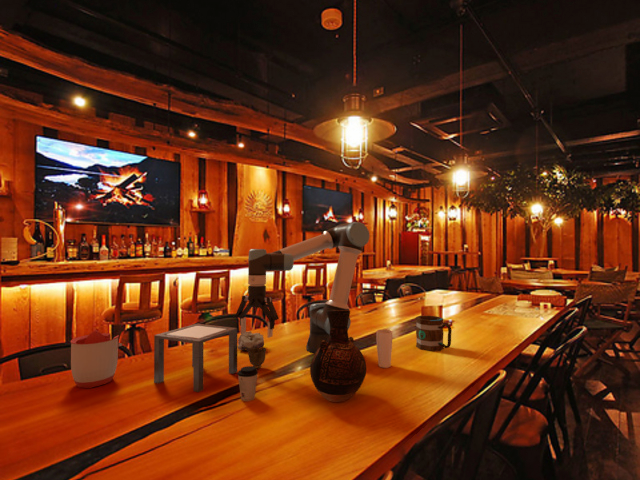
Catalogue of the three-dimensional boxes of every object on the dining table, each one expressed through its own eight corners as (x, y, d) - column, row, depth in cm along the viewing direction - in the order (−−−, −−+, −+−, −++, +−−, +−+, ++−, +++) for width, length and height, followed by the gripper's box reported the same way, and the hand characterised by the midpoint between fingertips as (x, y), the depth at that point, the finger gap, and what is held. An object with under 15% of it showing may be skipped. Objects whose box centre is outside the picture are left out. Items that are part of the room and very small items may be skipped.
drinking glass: (394, 364, 152) (393, 330, 152) (390, 369, 145) (390, 333, 146) (378, 362, 154) (378, 328, 155) (374, 367, 148) (374, 332, 149)
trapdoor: (197, 341, 127) (197, 338, 127) (165, 337, 134) (165, 334, 134) (226, 331, 142) (226, 328, 143) (196, 328, 149) (196, 325, 149)
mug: (410, 346, 180) (410, 317, 180) (428, 342, 187) (428, 314, 187) (441, 356, 163) (441, 324, 163) (460, 351, 170) (459, 321, 170)
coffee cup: (240, 404, 114) (240, 373, 114) (235, 396, 120) (235, 367, 120) (260, 400, 117) (260, 370, 117) (254, 392, 123) (254, 364, 123)
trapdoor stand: (237, 371, 144) (237, 328, 144) (198, 392, 124) (198, 341, 124) (196, 364, 153) (196, 323, 153) (154, 382, 133) (154, 335, 133)
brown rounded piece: (269, 366, 150) (269, 347, 150) (260, 372, 143) (260, 352, 143) (253, 364, 153) (253, 346, 153) (244, 370, 146) (244, 350, 146)
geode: (249, 364, 168) (271, 351, 180) (252, 348, 165) (274, 336, 177) (226, 347, 176) (248, 336, 188) (228, 331, 173) (251, 321, 185)
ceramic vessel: (333, 416, 105) (333, 317, 106) (298, 398, 119) (298, 309, 119) (378, 396, 119) (377, 309, 120) (342, 382, 132) (341, 303, 133)
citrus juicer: (131, 378, 137) (131, 327, 138) (83, 394, 122) (83, 337, 123) (109, 371, 145) (109, 323, 146) (61, 385, 130) (62, 331, 131)
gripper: (227, 284, 150) (227, 333, 150) (277, 287, 140) (277, 340, 140) (238, 282, 157) (237, 330, 157) (286, 285, 147) (286, 336, 146)
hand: (256, 335), depth 148 cm, fingers open, 13 cm apart
